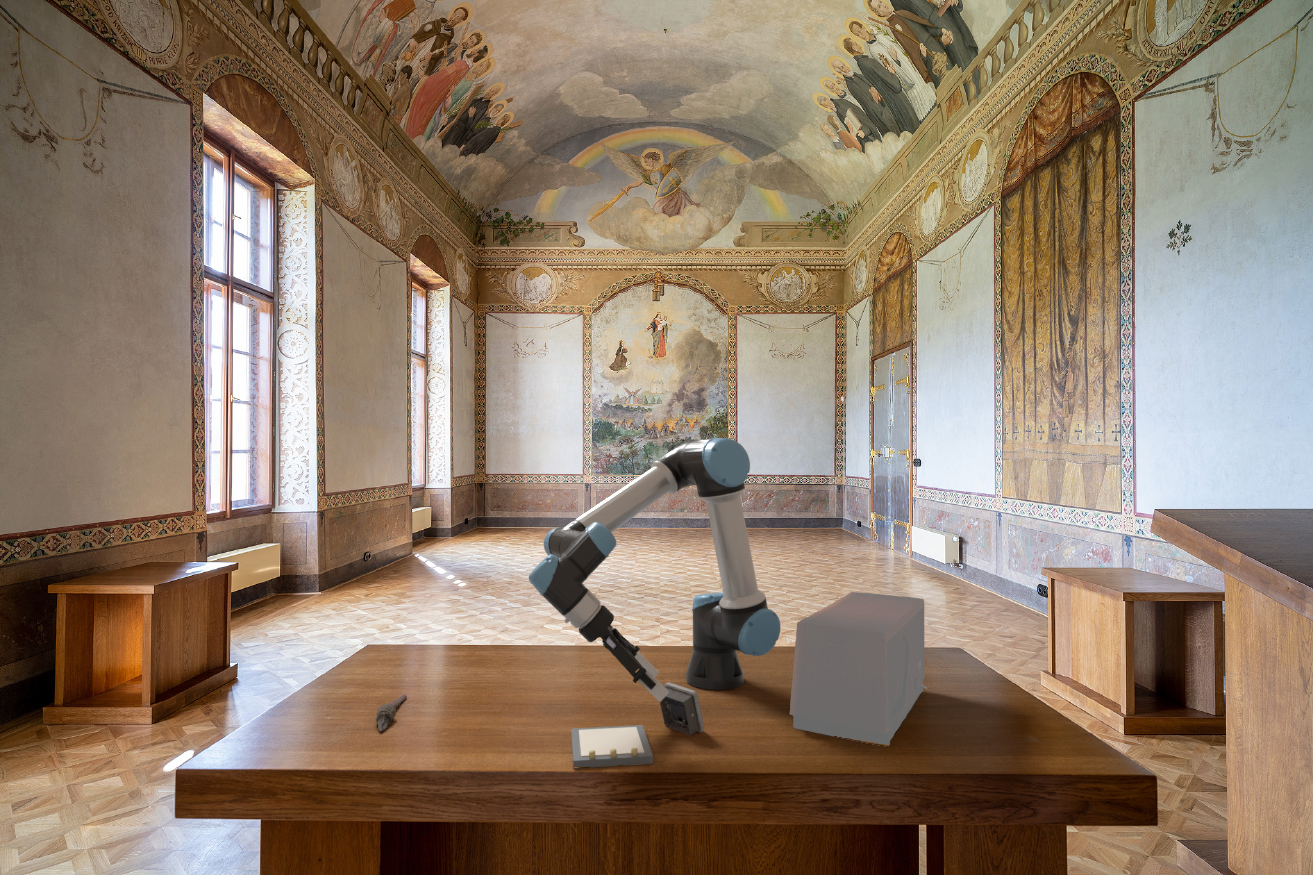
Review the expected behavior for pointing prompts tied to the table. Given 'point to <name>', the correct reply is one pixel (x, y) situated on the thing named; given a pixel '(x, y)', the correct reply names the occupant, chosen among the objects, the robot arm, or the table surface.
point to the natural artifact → (387, 713)
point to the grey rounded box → (858, 666)
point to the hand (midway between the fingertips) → (659, 686)
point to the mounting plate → (610, 746)
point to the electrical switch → (682, 709)
